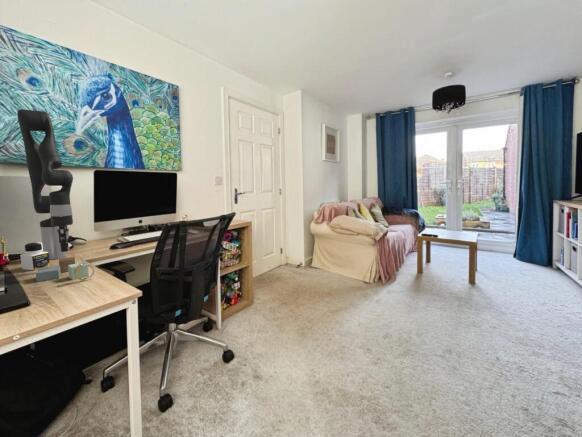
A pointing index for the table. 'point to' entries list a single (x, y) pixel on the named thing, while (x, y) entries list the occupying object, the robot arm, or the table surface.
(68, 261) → the walnut cube
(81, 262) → the bracelet
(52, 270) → the base block
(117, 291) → the table surface
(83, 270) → the sage cube
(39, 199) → the robot arm
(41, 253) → the medicine bottle
